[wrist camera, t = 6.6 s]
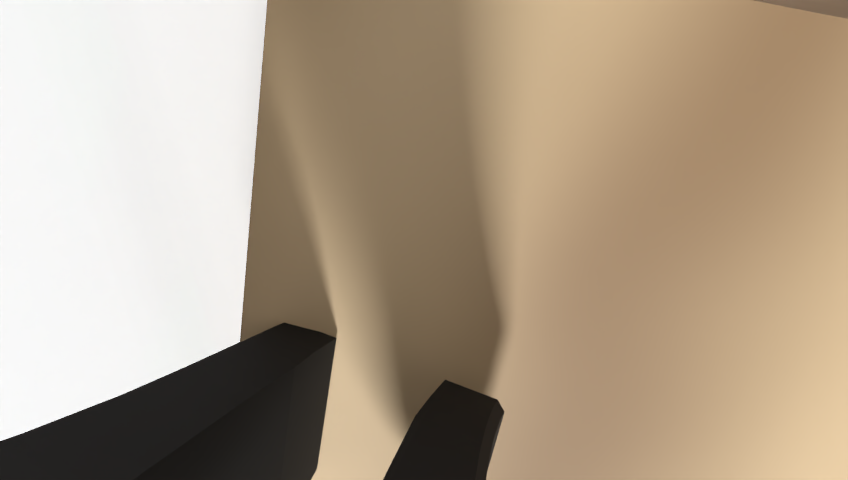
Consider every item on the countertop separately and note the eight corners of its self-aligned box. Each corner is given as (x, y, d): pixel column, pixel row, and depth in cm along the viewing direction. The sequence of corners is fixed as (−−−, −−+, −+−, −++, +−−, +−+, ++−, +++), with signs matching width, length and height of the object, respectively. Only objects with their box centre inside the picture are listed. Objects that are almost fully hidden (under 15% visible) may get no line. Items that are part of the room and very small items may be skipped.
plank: (1120, 46, 9) (1273, 101, 7) (760, 644, 14) (800, 758, 12) (313, -113, 8) (274, -93, 7) (246, 559, 14) (214, 665, 12)
